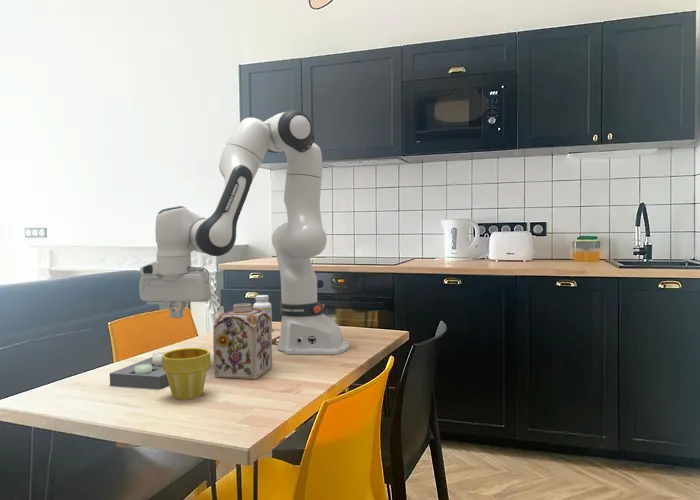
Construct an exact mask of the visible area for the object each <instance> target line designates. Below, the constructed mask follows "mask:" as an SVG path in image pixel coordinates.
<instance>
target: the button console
mask: <svg viewBox="0 0 700 500" xmlns="http://www.w3.org/2000/svg"><path fill="white" fill-rule="evenodd" d="M141 364H151V365H152V372H151V373H148V374H146V375H145V374H135V366H137V365H141ZM109 386H113V387H121V388H123V387H126V388H135V389H136V388H138V389H150V390H151V389H152V390H162V389H164V388H165V387H166V388H167V387H168V386H169V382H168V378H167V374H166V372H165V371H164V370H163V367H155V366H153V359H152V356H151V357H148V358H146V359H143V360H141V361H138V362H134V363H133V364H131V365H128V366H125V367H122V368H120V369H117V370H114V371H113V372H109Z"/></svg>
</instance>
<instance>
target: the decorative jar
mask: <svg viewBox="0 0 700 500" xmlns="http://www.w3.org/2000/svg"><path fill="white" fill-rule="evenodd" d="M232 306H233V307H232V308H233V309H231V310H226V311H222V312H221V313H219V315H218V316H217V318H216V320H215V321H214V323H213V327H212V328H213V335H212V336H213V341H212V343H213V346H212V347H213V351H212V352H213V369H214V370H213V371H214V372H213V374H214V375H213V376H214V377H215V378H220V379H221V378H222V379H223V378H224V379H237V380H238V379H240V380H241V379H242V380H254V381H255V380H257V379H258V378H259V377H261V376H263V375H264V374H265V373H267V372H269V371H270V370H272V368H273V337H272V336H273V334H272V330H271V318H270V317H269V316H268V315H267V314H266V312H264V311H262V310H259V309H253V305H252V304H251V303H235V304H233V305H232Z"/></svg>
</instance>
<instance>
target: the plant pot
mask: <svg viewBox="0 0 700 500" xmlns="http://www.w3.org/2000/svg"><path fill="white" fill-rule="evenodd" d="M163 353H164V354H163V355H162V367H163V370H164V371H165V372H166V374H167V378H168V382H169V385H168V386H169V389H170V393H171V397H172V398H173V399H174V400H179V401H180V400H181V401H184V400H185V401H186V400H187V401H188V400H193V399H197V398H199V397H200V396H202V395H203V393H204V388H205V384H206V383H205V382H206V377H207V372H208V369H209V367H211V366H210V365H211V351H210V350H209V349H207V348H202V347H185V348H177V349H172V350H169V351H166V352H163Z"/></svg>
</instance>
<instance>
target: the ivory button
mask: <svg viewBox="0 0 700 500" xmlns="http://www.w3.org/2000/svg"><path fill="white" fill-rule="evenodd" d="M164 353H165V352H156V353H153V354H152V355H151V357H152V359H153V366H155V367H162V355H163V354H164Z"/></svg>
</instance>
